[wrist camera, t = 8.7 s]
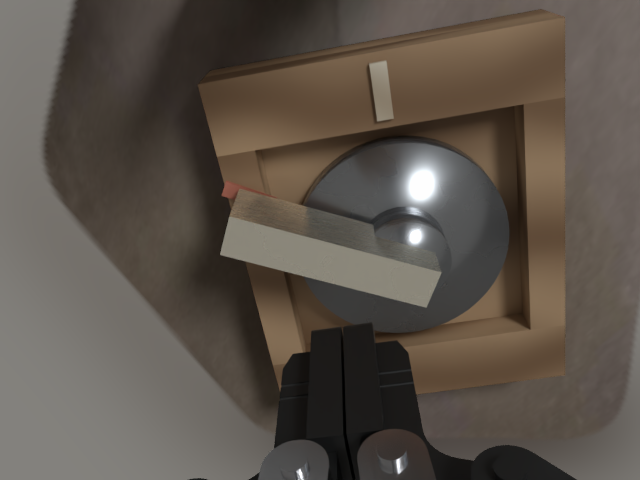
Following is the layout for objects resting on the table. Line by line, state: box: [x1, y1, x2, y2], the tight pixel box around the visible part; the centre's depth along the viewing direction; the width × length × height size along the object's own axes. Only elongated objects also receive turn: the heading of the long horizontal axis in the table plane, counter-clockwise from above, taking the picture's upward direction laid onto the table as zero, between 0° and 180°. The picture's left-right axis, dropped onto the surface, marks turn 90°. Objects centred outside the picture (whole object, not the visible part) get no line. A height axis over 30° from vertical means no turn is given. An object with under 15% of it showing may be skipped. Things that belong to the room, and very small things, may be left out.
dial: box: [220, 135, 509, 333], centre depth 27 cm, size 13×10×5 cm
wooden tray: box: [198, 9, 565, 394], centre depth 30 cm, size 18×15×3 cm
